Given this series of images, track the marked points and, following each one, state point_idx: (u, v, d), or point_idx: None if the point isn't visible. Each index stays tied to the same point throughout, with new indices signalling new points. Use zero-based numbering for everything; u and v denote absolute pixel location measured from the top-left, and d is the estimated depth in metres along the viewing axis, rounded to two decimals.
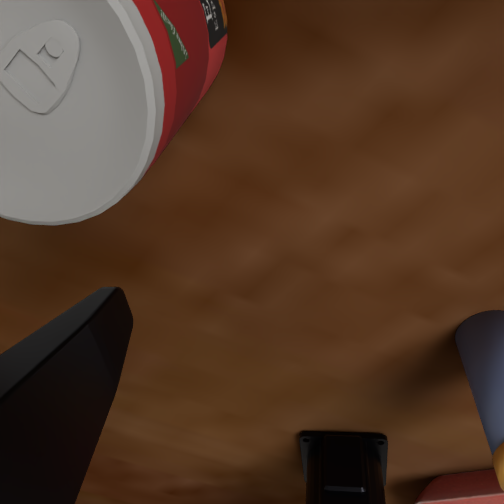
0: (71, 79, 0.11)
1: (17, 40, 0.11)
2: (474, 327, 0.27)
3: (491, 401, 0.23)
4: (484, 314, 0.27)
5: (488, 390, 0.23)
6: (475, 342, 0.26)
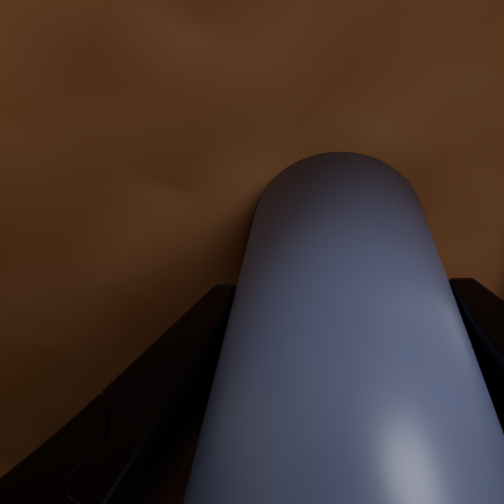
0: None
1: None
2: (272, 194, 0.10)
3: (215, 391, 0.06)
4: (303, 162, 0.10)
5: (225, 353, 0.07)
6: (259, 227, 0.09)
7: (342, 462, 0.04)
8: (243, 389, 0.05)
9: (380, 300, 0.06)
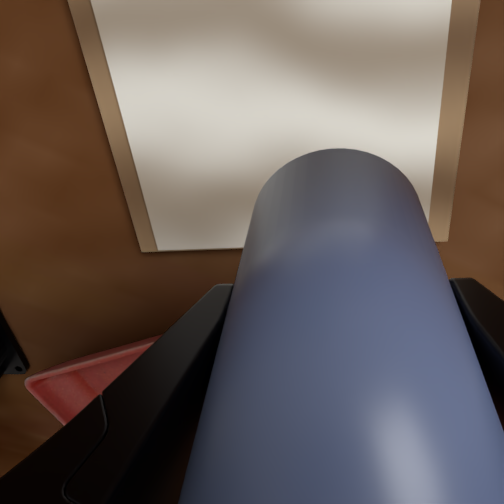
0: None
1: None
2: (270, 190, 0.10)
3: (211, 388, 0.06)
4: (302, 158, 0.10)
5: (222, 350, 0.07)
6: (257, 223, 0.09)
7: (339, 459, 0.04)
8: (239, 386, 0.05)
9: (379, 295, 0.06)
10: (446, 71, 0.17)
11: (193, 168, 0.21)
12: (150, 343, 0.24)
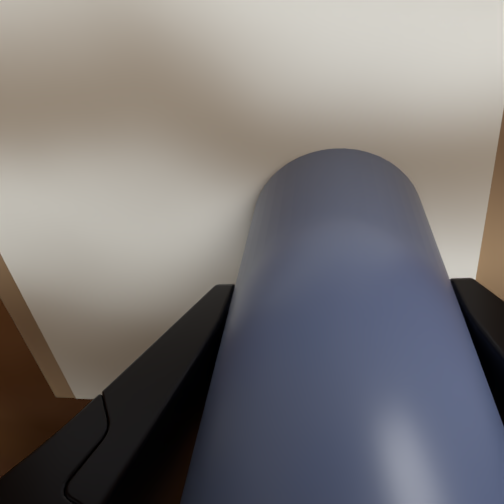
0: None
1: None
2: (272, 191, 0.10)
3: (213, 388, 0.06)
4: (303, 158, 0.10)
5: (223, 350, 0.07)
6: (258, 223, 0.09)
7: (341, 459, 0.04)
8: (241, 386, 0.05)
9: (380, 295, 0.06)
10: (493, 189, 0.10)
11: (108, 307, 0.14)
12: None
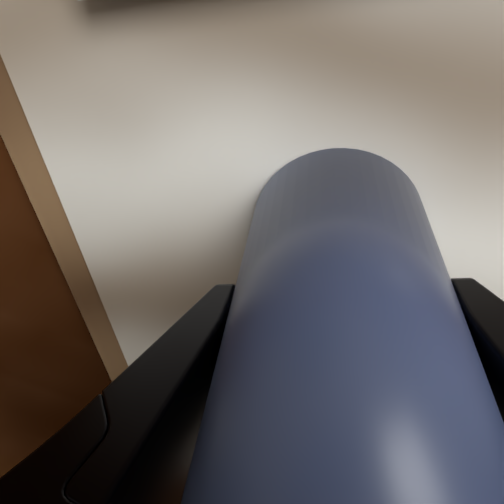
0: None
1: None
2: (272, 191, 0.10)
3: (214, 388, 0.06)
4: (303, 158, 0.10)
5: (224, 349, 0.07)
6: (258, 223, 0.09)
7: (342, 457, 0.04)
8: (242, 385, 0.05)
9: (381, 295, 0.06)
10: None
11: None
12: None
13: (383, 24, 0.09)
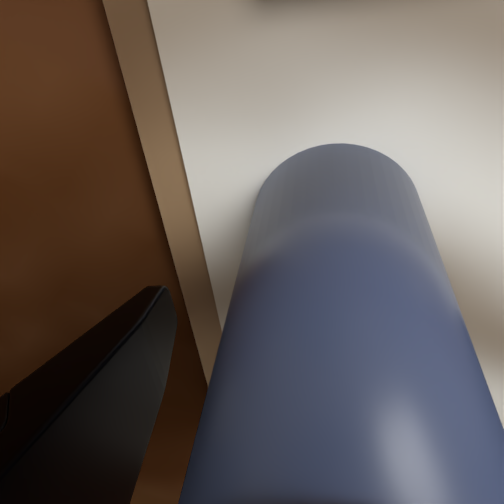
0: None
1: None
2: (272, 184, 0.10)
3: (216, 371, 0.06)
4: (303, 154, 0.10)
5: (226, 336, 0.07)
6: (259, 216, 0.09)
7: (339, 431, 0.04)
8: (243, 366, 0.06)
9: (378, 283, 0.06)
10: None
11: None
12: None
13: None
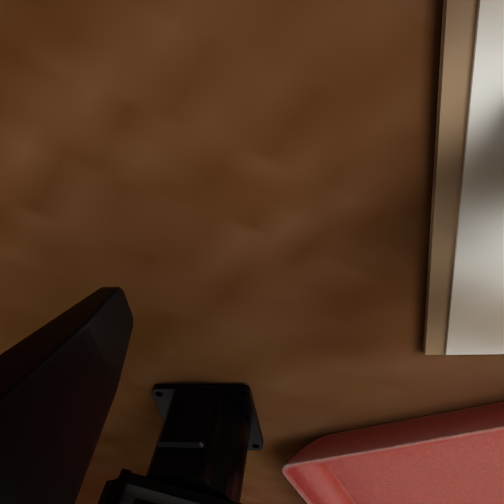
0: None
1: None
2: None
3: None
4: None
5: None
6: None
7: None
8: None
9: None
10: None
11: None
12: (429, 440, 0.25)
13: None
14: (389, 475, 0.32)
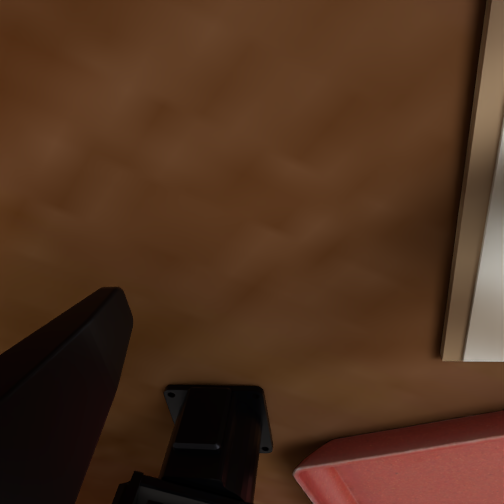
0: None
1: None
2: None
3: None
4: None
5: None
6: None
7: None
8: None
9: None
10: None
11: None
12: (443, 445, 0.26)
13: None
14: (397, 480, 0.32)
